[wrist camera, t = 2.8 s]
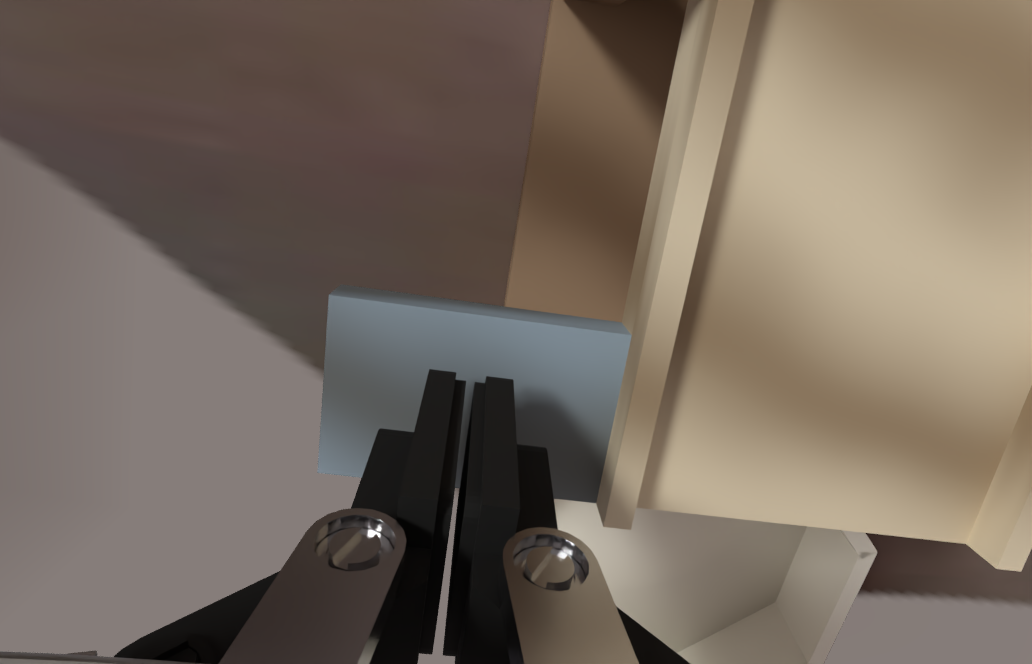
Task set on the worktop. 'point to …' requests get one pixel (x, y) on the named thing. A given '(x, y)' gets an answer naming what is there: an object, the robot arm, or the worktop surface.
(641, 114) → the lever stand
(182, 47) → the worktop surface
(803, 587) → the octagonal cream dish
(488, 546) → the robot arm
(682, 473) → the lever
